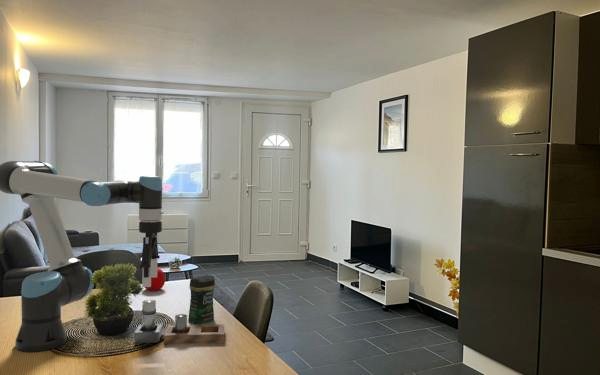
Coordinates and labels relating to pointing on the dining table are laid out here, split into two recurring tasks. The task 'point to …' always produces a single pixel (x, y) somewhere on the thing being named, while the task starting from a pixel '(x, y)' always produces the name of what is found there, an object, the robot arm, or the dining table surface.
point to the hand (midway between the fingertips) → (150, 281)
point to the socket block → (148, 334)
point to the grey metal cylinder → (148, 315)
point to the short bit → (181, 323)
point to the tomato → (157, 281)
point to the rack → (195, 334)
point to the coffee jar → (201, 299)
